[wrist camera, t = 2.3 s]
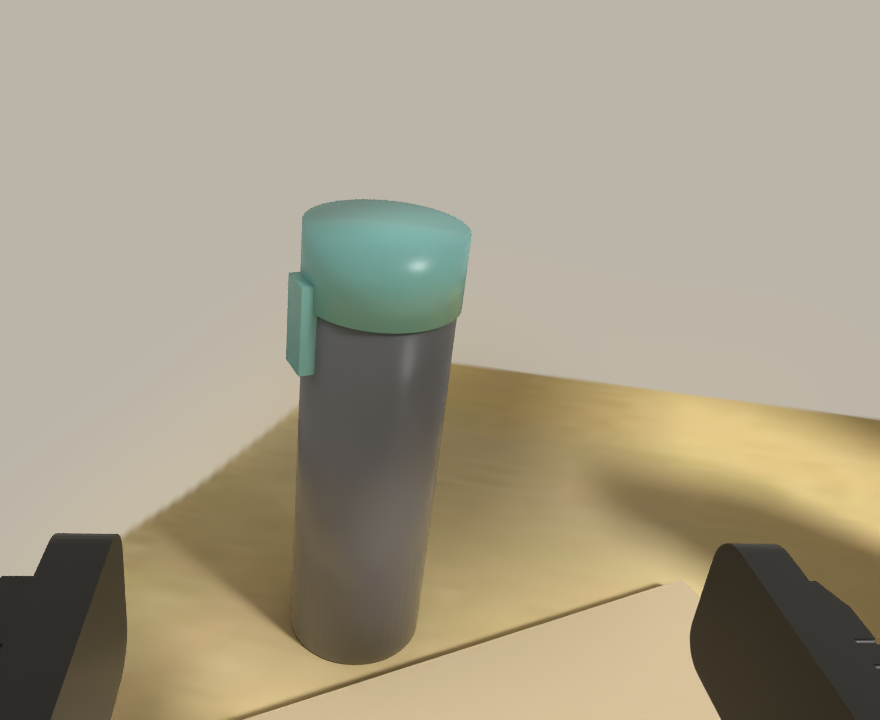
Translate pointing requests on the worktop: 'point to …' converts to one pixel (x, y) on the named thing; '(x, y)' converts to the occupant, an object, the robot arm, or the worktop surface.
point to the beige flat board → (546, 672)
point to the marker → (369, 416)
